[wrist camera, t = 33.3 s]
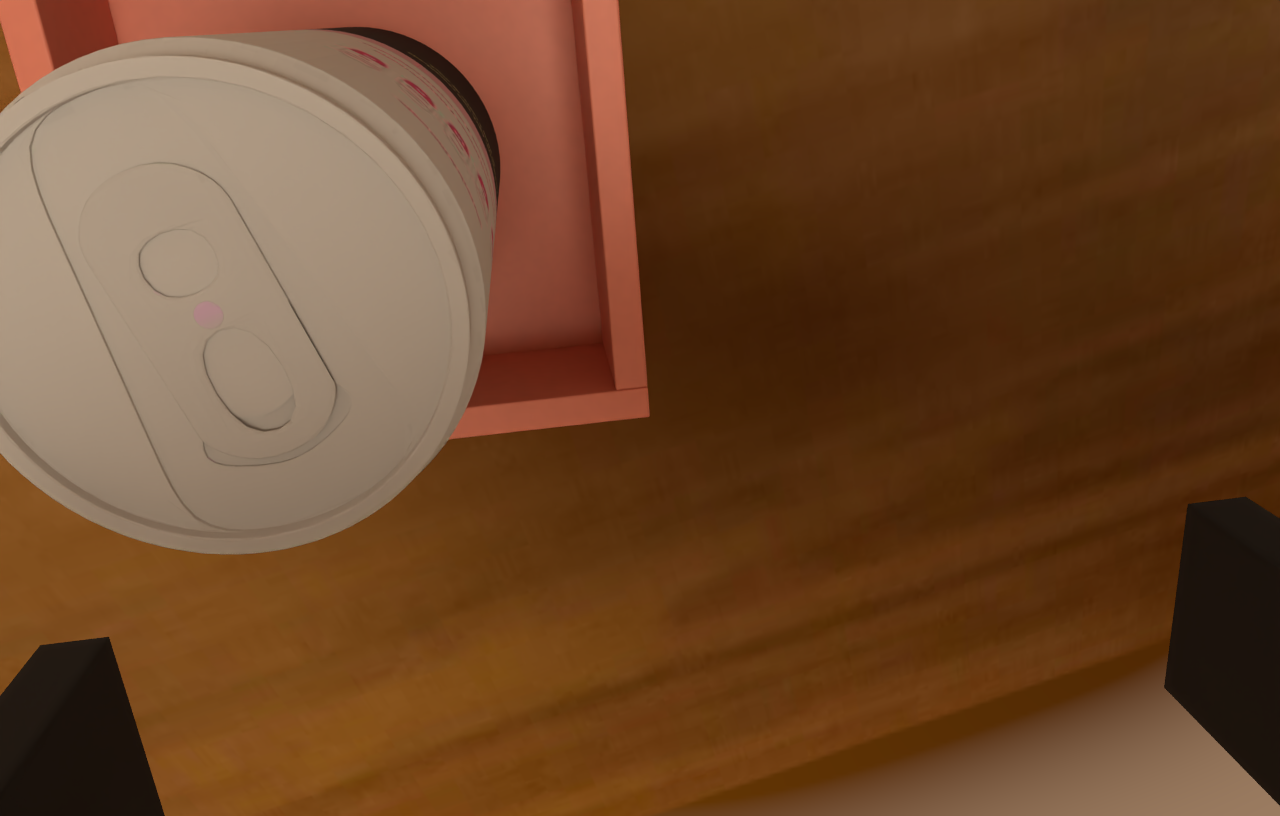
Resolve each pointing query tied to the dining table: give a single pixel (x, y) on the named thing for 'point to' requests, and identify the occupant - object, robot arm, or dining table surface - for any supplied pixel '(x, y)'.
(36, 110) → the beverage can
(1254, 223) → the dining table surface
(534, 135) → the can bin
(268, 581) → the dining table surface
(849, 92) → the dining table surface
